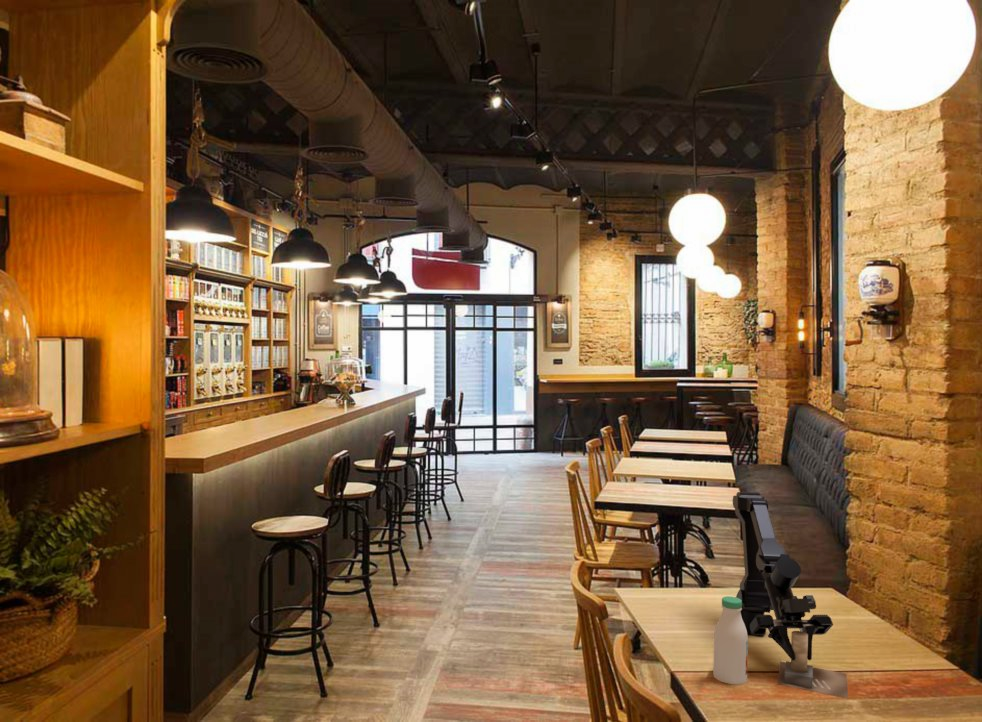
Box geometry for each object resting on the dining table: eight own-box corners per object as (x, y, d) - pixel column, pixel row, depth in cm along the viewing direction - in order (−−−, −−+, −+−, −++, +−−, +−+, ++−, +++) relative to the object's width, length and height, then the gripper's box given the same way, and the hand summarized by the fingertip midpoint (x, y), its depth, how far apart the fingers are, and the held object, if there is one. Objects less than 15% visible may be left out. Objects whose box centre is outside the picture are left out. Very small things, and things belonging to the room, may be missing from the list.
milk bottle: (742, 692, 167) (744, 607, 167) (709, 683, 171) (711, 600, 171) (750, 679, 173) (752, 597, 173) (717, 671, 177) (719, 591, 177)
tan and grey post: (784, 682, 169) (785, 636, 169) (785, 671, 176) (786, 626, 176) (812, 688, 167) (813, 641, 167) (812, 676, 173) (813, 631, 173)
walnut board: (777, 689, 169) (777, 684, 169) (780, 666, 181) (780, 661, 181) (848, 703, 162) (848, 698, 162) (846, 678, 175) (846, 673, 175)
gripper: (755, 582, 174) (775, 645, 164) (830, 582, 175) (854, 645, 165) (741, 603, 182) (759, 665, 172) (813, 602, 183) (835, 664, 173)
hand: (802, 659), depth 170 cm, fingers closed on tan and grey post, 4 cm apart
